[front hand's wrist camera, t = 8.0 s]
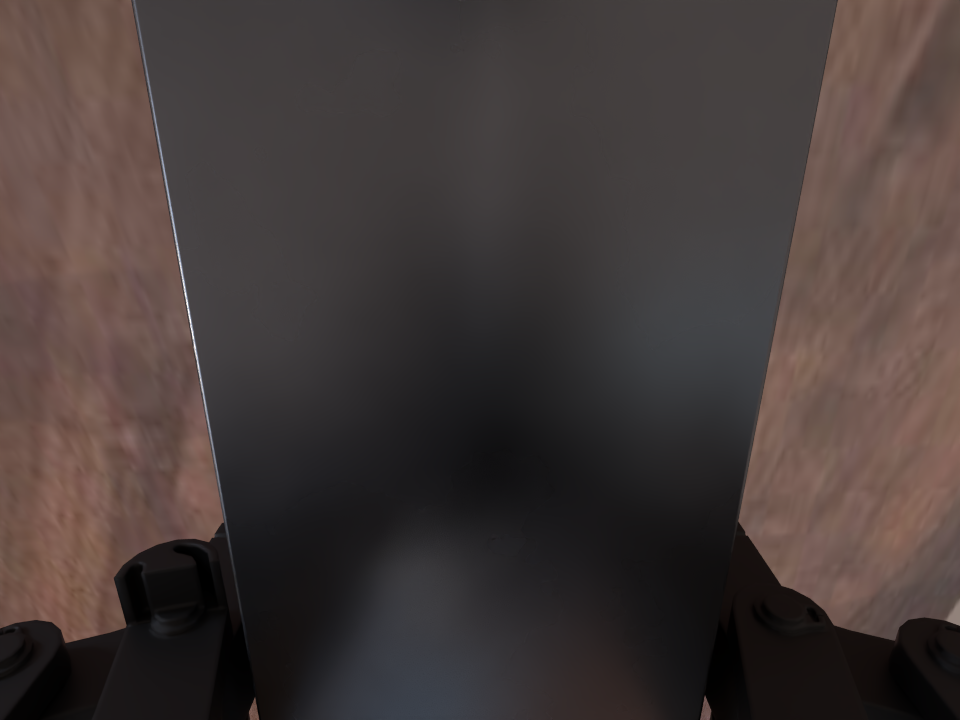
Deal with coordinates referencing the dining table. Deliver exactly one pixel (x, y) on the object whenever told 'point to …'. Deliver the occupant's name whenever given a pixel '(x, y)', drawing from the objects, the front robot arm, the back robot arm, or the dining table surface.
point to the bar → (482, 332)
